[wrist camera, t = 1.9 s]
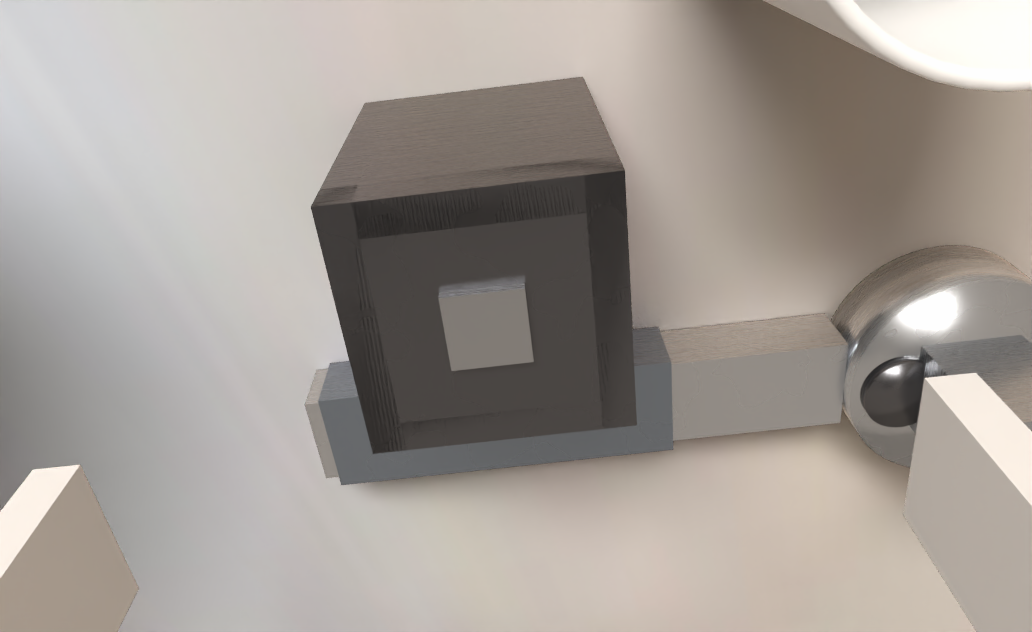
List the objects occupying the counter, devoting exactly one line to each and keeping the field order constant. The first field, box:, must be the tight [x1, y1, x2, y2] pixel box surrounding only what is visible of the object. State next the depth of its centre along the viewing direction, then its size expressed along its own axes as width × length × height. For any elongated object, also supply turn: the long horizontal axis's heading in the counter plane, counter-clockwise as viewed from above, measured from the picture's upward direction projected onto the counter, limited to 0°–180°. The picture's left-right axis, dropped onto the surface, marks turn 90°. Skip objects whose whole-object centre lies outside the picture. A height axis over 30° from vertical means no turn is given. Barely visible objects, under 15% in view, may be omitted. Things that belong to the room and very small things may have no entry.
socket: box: [311, 77, 637, 454], centre depth 21 cm, size 6×6×8 cm
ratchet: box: [305, 245, 1032, 485], centre depth 25 cm, size 24×7×6 cm, turn 96°
